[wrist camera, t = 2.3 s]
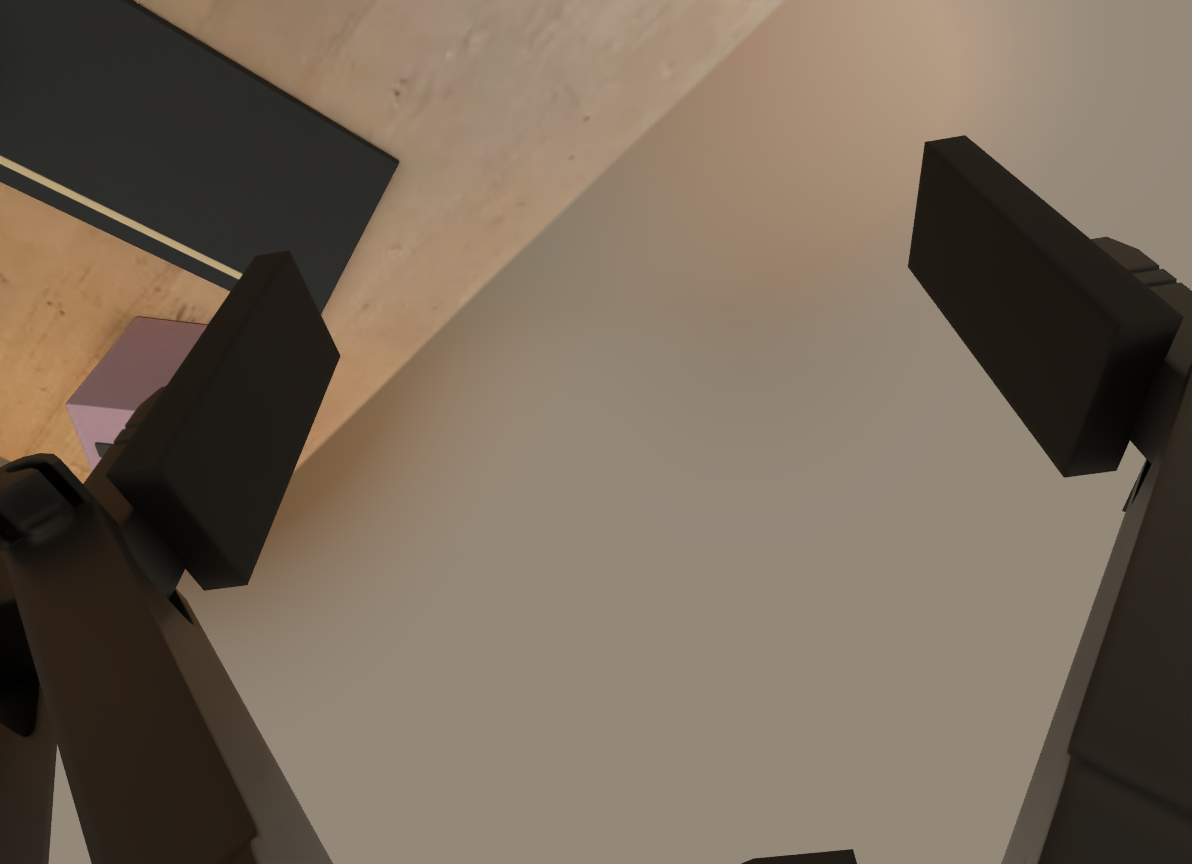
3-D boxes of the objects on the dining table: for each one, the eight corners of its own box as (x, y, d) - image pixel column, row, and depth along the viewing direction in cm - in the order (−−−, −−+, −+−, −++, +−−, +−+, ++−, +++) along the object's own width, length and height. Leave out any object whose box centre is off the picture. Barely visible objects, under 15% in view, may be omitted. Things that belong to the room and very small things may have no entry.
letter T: (133, 315, 39) (59, 405, 33) (243, 328, 40) (189, 418, 34) (156, 394, 43) (92, 488, 37) (256, 405, 43) (209, 498, 38)
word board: (-214, 72, 31) (-225, 75, 30) (-222, -213, 25) (-235, -213, 24) (314, 325, 40) (312, 331, 39) (399, 160, 34) (397, 165, 34)
